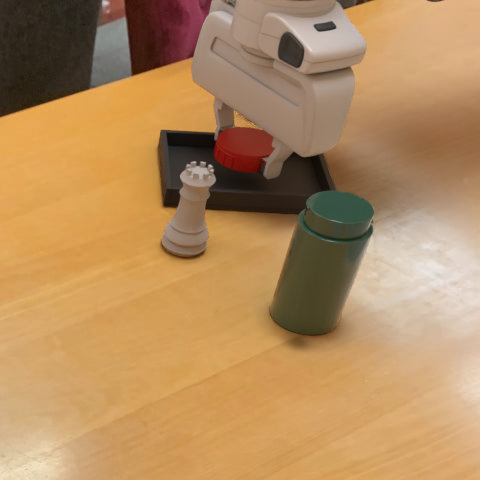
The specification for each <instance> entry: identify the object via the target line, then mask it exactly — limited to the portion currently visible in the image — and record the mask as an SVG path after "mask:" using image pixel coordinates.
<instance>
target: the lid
mask: <svg viewBox="0 0 480 480" xmlns="http://www.w3.org/2000/svg"><path fill="white" fill-rule="evenodd" d="M273 138H274V137H272V136H271V135H269V134H268V133H267V132H265V131H264V130H262V129H261V128H255V127H249V126H248V127H247V126H236V127H235V128H230V129H226V130H224V131H222V132H221V133H220V134H219V135H218V138H217V140H216V144H215V148H214V157H215V159H216V160H217V161H218V162H219V163H220V164H221V165H223V166H225V167H227V168H229V169H232V170H236V171H240V172H248V173H256V172H258V168H259V167H260V160H261V157H267V156H270V155H271V153H272V152H273V151H274V150H275V148H274V147H272V142H273Z"/></svg>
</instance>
